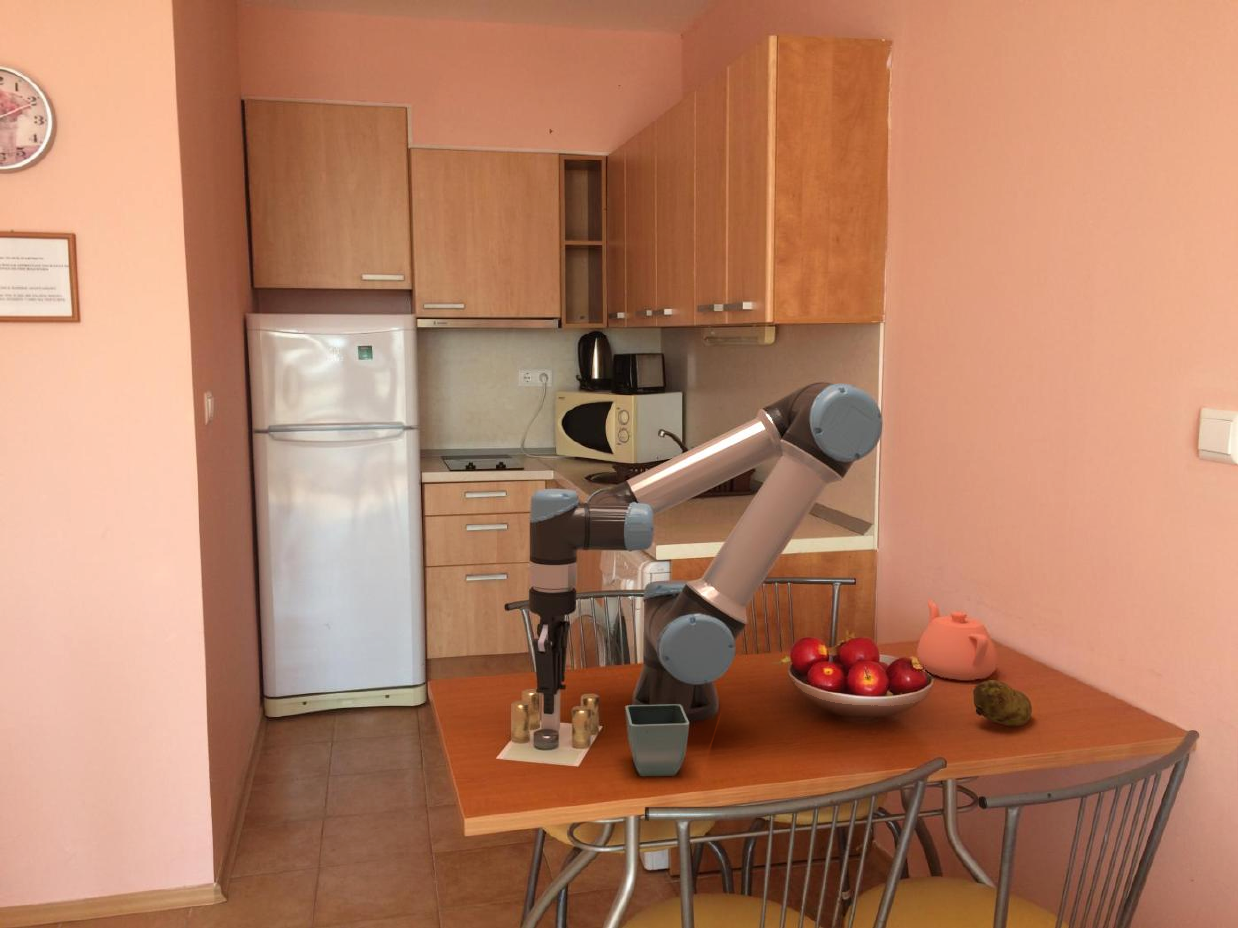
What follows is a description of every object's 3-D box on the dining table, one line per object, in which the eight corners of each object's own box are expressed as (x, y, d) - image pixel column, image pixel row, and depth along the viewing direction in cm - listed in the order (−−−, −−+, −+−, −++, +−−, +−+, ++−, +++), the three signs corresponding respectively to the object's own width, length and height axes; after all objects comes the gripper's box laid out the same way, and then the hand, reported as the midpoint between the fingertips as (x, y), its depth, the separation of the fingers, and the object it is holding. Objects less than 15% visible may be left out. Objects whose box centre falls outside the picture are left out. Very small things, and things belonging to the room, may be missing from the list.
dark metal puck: (562, 743, 164) (562, 730, 164) (552, 751, 161) (552, 739, 160) (539, 739, 166) (539, 727, 166) (529, 748, 162) (529, 735, 162)
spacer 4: (592, 742, 165) (592, 706, 164) (588, 749, 162) (588, 712, 161) (574, 741, 165) (574, 704, 165) (569, 748, 162) (569, 711, 162)
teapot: (893, 656, 215) (896, 599, 214) (959, 653, 218) (962, 596, 217) (947, 691, 194) (950, 627, 192) (1019, 687, 197) (1023, 624, 195)
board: (602, 728, 172) (602, 725, 172) (578, 769, 156) (578, 765, 155) (527, 722, 175) (527, 719, 175) (495, 761, 158) (495, 757, 158)
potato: (1051, 728, 175) (1054, 682, 174) (988, 737, 171) (991, 690, 170) (1017, 712, 183) (1020, 668, 182) (956, 720, 178) (959, 675, 178)
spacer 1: (532, 737, 167) (532, 701, 166) (526, 744, 164) (526, 707, 163) (514, 735, 167) (514, 699, 167) (508, 742, 164) (508, 706, 164)
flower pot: (623, 760, 159) (624, 704, 158) (680, 759, 160) (681, 703, 159) (629, 784, 150) (630, 724, 149) (688, 782, 151) (690, 723, 150)
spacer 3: (600, 729, 171) (600, 694, 170) (596, 735, 168) (596, 700, 167) (582, 727, 171) (583, 692, 170) (578, 734, 168) (578, 698, 168)
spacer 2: (542, 724, 173) (542, 689, 172) (537, 730, 170) (537, 695, 169) (525, 722, 173) (525, 688, 172) (519, 729, 170) (519, 693, 170)
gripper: (541, 576, 170) (539, 714, 173) (517, 594, 158) (515, 743, 160) (585, 579, 169) (583, 718, 171) (564, 598, 156) (562, 748, 159)
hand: (550, 730), depth 166 cm, fingers closed
